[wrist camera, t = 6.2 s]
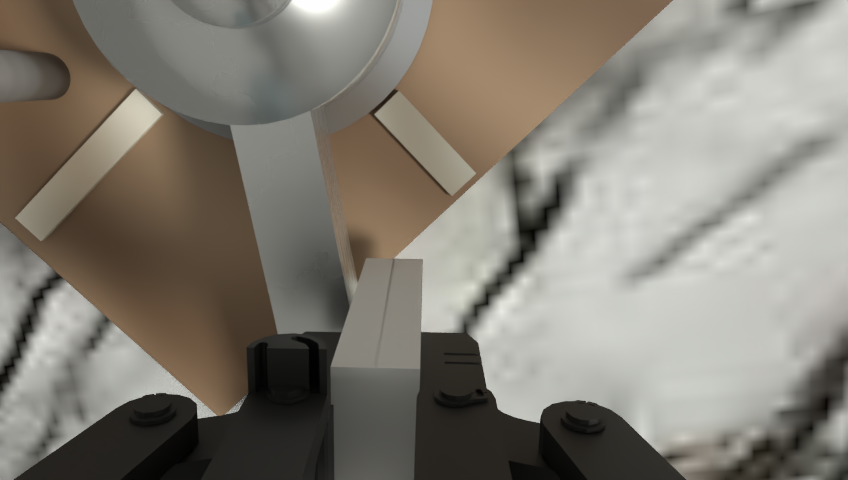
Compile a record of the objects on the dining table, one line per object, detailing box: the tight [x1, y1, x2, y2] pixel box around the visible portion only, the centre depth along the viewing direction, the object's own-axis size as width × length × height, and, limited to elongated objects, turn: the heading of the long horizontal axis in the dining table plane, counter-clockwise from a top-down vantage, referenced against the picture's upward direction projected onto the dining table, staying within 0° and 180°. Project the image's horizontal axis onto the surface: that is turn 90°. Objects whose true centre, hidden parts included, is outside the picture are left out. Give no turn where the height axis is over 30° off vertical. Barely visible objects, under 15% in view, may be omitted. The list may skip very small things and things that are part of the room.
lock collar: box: [73, 0, 403, 334], centre depth 16 cm, size 7×17×3 cm, turn 9°
